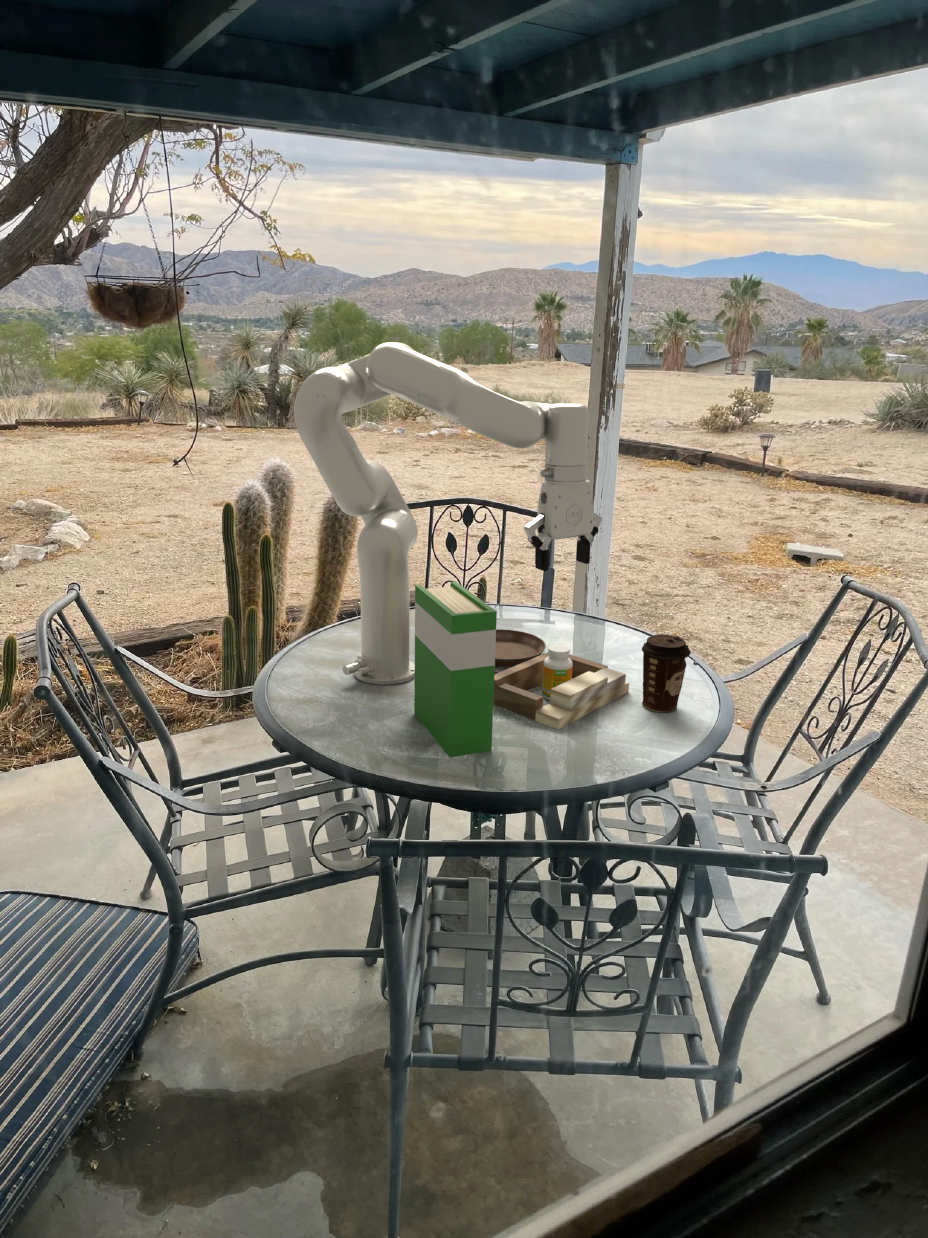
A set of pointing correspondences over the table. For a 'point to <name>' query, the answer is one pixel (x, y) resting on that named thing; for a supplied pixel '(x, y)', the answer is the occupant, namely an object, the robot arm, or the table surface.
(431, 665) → the hardback book
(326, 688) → the table surface
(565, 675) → the supplement bottle
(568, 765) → the table surface
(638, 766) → the table surface
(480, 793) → the table surface
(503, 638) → the plant saucer
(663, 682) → the coffee cup
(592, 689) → the frame
